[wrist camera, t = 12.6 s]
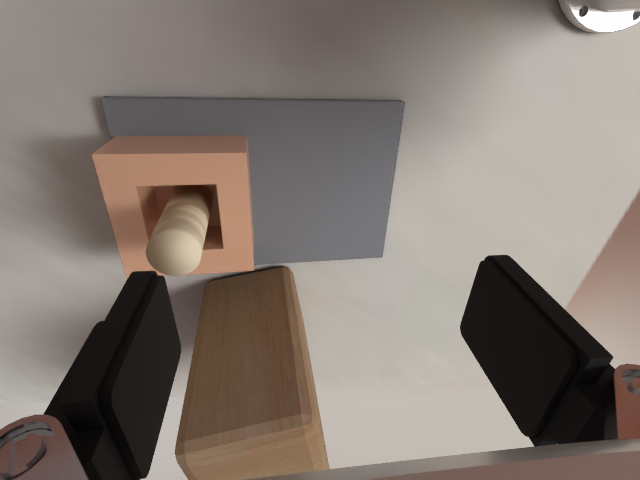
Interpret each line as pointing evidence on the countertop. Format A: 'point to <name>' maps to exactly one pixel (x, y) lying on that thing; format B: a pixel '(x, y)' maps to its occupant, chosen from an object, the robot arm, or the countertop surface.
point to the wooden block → (250, 384)
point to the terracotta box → (158, 184)
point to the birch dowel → (181, 231)
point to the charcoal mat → (293, 165)
